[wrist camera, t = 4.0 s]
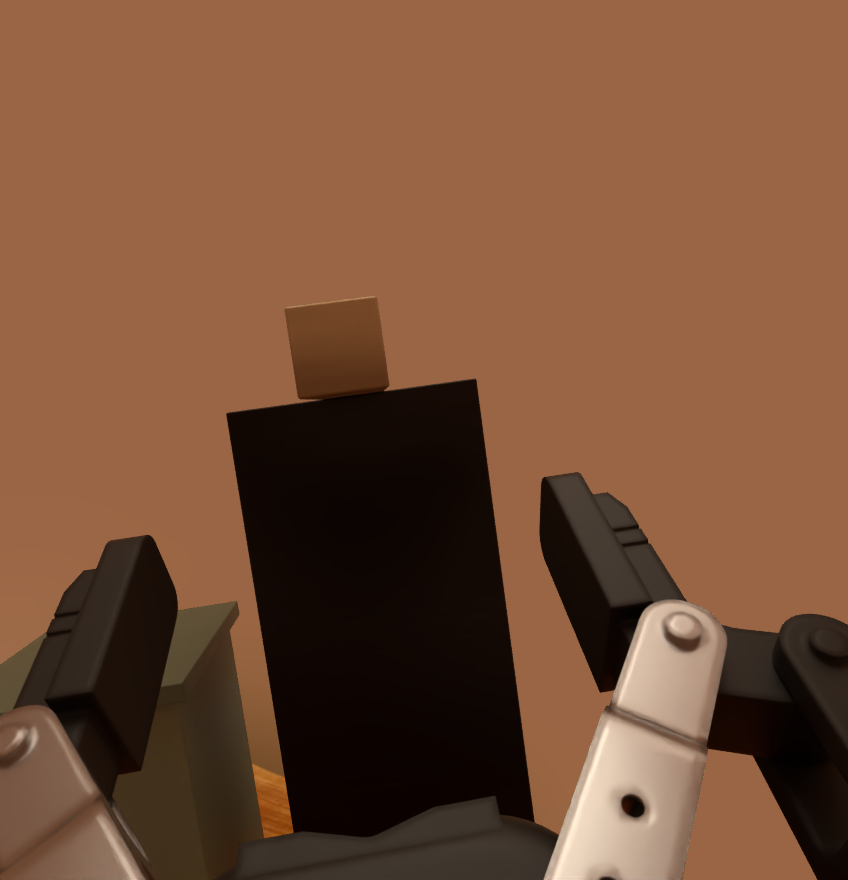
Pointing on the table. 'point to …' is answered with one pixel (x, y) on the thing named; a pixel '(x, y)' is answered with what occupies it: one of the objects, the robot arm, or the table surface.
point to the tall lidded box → (185, 752)
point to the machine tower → (381, 606)
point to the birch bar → (337, 348)
